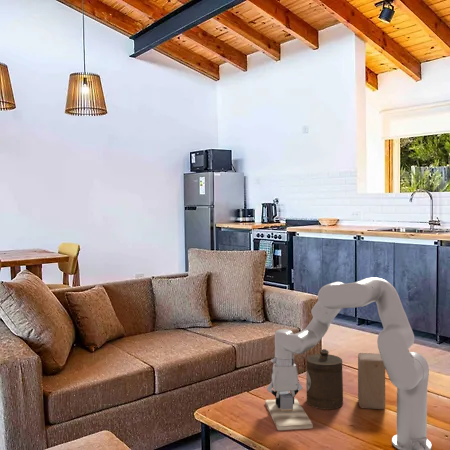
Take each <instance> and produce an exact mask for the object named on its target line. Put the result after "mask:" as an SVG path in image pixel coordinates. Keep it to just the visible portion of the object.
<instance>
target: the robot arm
mask: <svg viewBox="0 0 450 450" xmlns="http://www.w3.org/2000/svg"><path fill="white" fill-rule="evenodd" d="M374 302H375V303H376V307H377V312H378V317H379V319H380V322H381V324H382V327H383V329H382V330H381V331H380V332H379V334H378V336H377V341H376V343H377V349H378V353H379V354H380V355H381V358H382V360H383V363H384V366H385V372H386V374H387V376H388V378H389V380H390V382H391V384H392V385H393V386H394V387H395V388H396V434H395V435H393V436H392V437H391V444H392V445H393V447H395V449H397V450H432V442H431V441H430V440H429V439H428V438H427V435H428V434H427V432H428V428H427V426H428V425H427V422H428V420H427V419H428V405H427V404H428V385H429V376H430V374H429V373H430V368H429V364H428V361H427V359H426V357H424V356H423V355H422V354H420V353H419V352H415V351H410V350H409V349H410V348H412V346H413V345H414V343H415V334H414V331H413V328H412V327H411V324H410V322H409V319H408V316H407V313H406V311H405V309H404V307H403V304H402V301H401V299H400V295H399V294H398V290H396V288H395V287H394V286H393V284H391V283H390V282H389V281H388V280H386V279H383V278H380V277H375V276H374V277H373V276H372V277H366V278H363V279H360V280H358V281H355V282H348V283H344V282H341V281H333V282H331V283H327V284H325V285H323V286H322V287H321V288H319V290H318V294H317V302H316V303H315V304H314V305H313V307H312V308H311V311H310V312H311V316H312V319H311V321H310V322H308V325H307V326H306V327H305V328H304V329H303V330H301V331H299V332H296V333H294V332H293V330H291V329H285V328H283V329H282V328H280V329H277V330H276V331H275V332H274V357H273V358H271V359H270V361H271V363H273V365H272V373H271V382H270V383H269V384H268V386H267V387H266V390H267V391H268V392H269V393H271V394H272V395H273V396H274V397H275V399H276V405H277V406H278V408H280V397H279V394H280V392H281V391H289V392H290V394H291V395H292V397H293V404H294V398H295V397H296V395H297V394H298V393H299V392H300V391H301V390H302V389H303V386H302V384H301V383H300V382H299V374H298V368H297V364H296V363H295V354H296V355H301V354H304V353H307V351H310V350H311V349H314V348H315V347H316V346H317V344H319V343H320V341H321V340H322V339H323V337H324V336H325V335H326V333H327V332H328V330H329V328H330V326H331V324H332V322H333V321H334V319H335V318H336V316H338V314H339V313H340V312H341V310H342V309H354V308H362V307H365V306H368V305H370V304H372V303H374Z"/></svg>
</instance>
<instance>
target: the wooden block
mask: <svg viewBox="0 0 450 450" xmlns="http://www.w3.org/2000/svg"><path fill="white" fill-rule="evenodd" d="M357 399H358V405H359V408H362V409H369V410H370V409H373V410H385V409H386V369H385V366H384V363H383V360H382V358H381V355H380V353H375V352H373V353H372V352H371V353H370V352H369V353H368V352H359V353H358V355H357Z"/></svg>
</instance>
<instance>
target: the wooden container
mask: <svg viewBox="0 0 450 450" xmlns="http://www.w3.org/2000/svg"><path fill="white" fill-rule="evenodd" d="M343 373H344V372H343V359H342V358H341V357H339V356H337V355H334V354H330V353H329V350H327V349H321V350H320V351H319V353H315V354H310V355H308V356H307V357H306V377H305V378H306V380H305V381H306V382H305V383H306V384H305V385H306V387H305V388H306V403H307V405H309V406H311V407H313V408H316V409H319V410H320V409H321V410H335V409H339V408H340V407H342V406H343V405H344V381H343V380H344V379H343V378H344V376H343Z"/></svg>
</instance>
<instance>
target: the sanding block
mask: <svg viewBox="0 0 450 450" xmlns="http://www.w3.org/2000/svg"><path fill="white" fill-rule="evenodd" d="M279 397H280V409H281V410H282V411H288V410H293V397H292V395H291V393H290V391H281V392H280V394H279Z"/></svg>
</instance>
